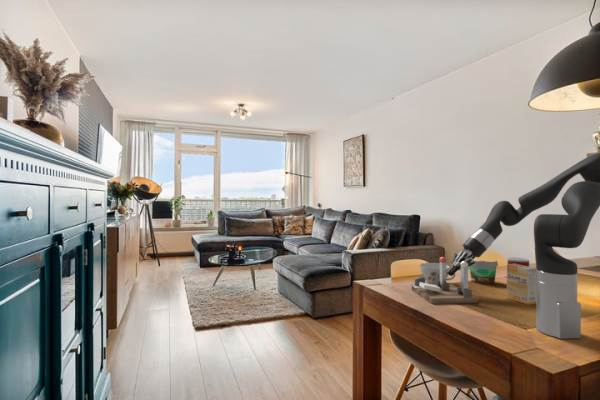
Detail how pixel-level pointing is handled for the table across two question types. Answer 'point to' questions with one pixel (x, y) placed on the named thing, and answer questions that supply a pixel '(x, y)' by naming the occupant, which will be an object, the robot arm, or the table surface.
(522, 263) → the canned food
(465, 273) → the grey metal bar
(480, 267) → the food container
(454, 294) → the panel
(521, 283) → the supplement box
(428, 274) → the teacup
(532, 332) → the table surface
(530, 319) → the table surface
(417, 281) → the button
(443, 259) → the red toggle
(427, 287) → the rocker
